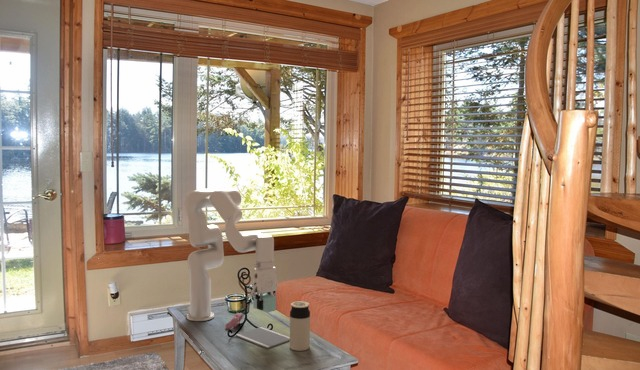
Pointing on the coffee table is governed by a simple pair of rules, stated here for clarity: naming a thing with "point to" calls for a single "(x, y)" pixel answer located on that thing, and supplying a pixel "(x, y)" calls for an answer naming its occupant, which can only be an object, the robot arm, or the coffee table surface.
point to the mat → (264, 337)
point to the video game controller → (234, 321)
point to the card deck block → (267, 302)
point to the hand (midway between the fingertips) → (264, 307)
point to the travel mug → (299, 326)
